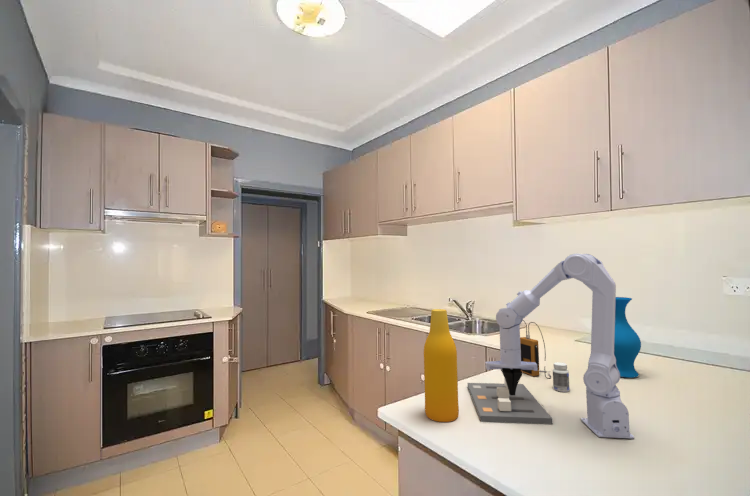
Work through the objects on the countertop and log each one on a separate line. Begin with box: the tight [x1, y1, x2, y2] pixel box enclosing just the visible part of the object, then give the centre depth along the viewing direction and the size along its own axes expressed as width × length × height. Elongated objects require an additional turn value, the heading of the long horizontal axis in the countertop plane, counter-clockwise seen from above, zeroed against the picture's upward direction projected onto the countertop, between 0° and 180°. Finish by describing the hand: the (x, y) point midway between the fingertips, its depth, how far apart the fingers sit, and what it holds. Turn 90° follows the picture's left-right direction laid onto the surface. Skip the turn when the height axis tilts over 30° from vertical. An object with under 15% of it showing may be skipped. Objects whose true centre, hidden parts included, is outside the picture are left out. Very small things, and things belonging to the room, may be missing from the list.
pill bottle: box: [552, 361, 570, 393], centre depth 115 cm, size 5×5×8 cm
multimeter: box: [520, 319, 552, 379], centre depth 133 cm, size 15×10×20 cm
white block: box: [497, 398, 511, 411], centre depth 96 cm, size 2×3×2 cm
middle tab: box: [497, 387, 509, 398], centre depth 104 cm, size 2×3×2 cm
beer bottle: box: [423, 308, 460, 423], centre depth 97 cm, size 9×9×29 cm
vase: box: [614, 296, 642, 379], centre depth 129 cm, size 12×13×28 cm
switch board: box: [467, 382, 554, 425], centre depth 104 cm, size 26×18×2 cm
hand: (511, 394), depth 104 cm, fingers closed
